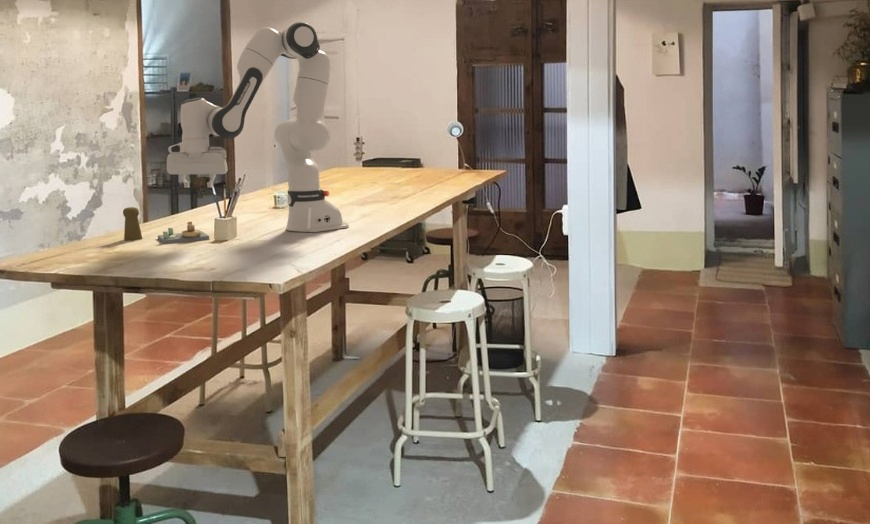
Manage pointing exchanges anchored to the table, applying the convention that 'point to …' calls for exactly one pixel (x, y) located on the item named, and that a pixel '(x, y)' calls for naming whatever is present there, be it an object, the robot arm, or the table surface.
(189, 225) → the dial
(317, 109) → the robot arm
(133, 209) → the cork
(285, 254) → the table surface
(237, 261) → the table surface
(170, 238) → the board
